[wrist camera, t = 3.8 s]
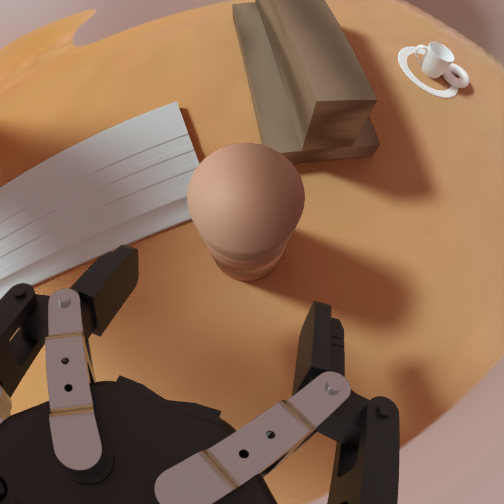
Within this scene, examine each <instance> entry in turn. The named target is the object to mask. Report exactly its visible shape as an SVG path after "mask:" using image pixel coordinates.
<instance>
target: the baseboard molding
mask: <svg viewBox="0 0 504 504" xmlns="http://www.w3.org/2000/svg"><path fill="white" fill-rule="evenodd" d="M198 165H199V161H198V159H197V156H196V153H195V150H194V148H193V145H192V142H191V139H190V137H189V134H188V131H187V128H186V126H185V123H184V120H183V117H182V114H181V112H180V109H179V106H178V103H177V101H176V102H173V103H170V104H168V105H165V106H162V107H160V108H157V109H154V110H152V111H149V112H147V113H144V114H142V115H139V116H137V117H134V118H132V119H129V120H127V121H125V122H122V123H120V124H118V125H115V126H113V127H111V128H109V129H106V130H104V131H102V132H100V133H98V134H96V135H93V136H91V137H89V138H87V139H85V140H83V141H81V142H79V143H77V144H75V145H73V146H71V147H69V148H67V149H65V150H63V151H62V152H60V153H58V154H56V155H54V156H52V157H50V158H49V159H47V160H45V161H43V162H41V163H40V164H38V165H36V166H34V167H33V168H31V169H29V170H28V171H26V172H24V173H23V174H21V175H19V176H18V177H16V178H14V179H13V180H11V181H10V182H8V183H6V184H5V185H3V186H2V187H0V299H1V298H2V297H3V296H4V295H5V294H6V293H7V291H8V290H9V289H10V288H11V287H13V286H14V285H16V284H19V283H27V284H30V285H31V286H34V285H36V284H38V283H40V282H43V281H45V280H47V279H49V278H51V277H54V276H56V275H58V274H60V273H63V272H65V271H67V270H69V269H72V268H74V267H76V266H79V265H81V264H83V263H85V262H88V261H90V260H92V259H95V258H97V257H99V256H102V255H104V254H106V253H108V252H111V251H114V250H116V249H117V248H118V247H119V246H120V245H128V244H131V243H133V242H136V241H138V240H141V239H143V238H145V237H148V236H150V235H153V234H156V233H158V232H161V231H163V230H166V229H168V228H171V227H173V226H176V225H178V224H181V223H184V222H186V221H189V220H192V218H191V216H190V213H189V210H188V204H187V192H188V186H189V182H190V180H191V177H192V175H193V173H194V171H195V170H196V168H197V167H198Z"/></svg>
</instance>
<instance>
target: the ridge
mask: <svg viewBox="0 0 504 504" xmlns="http://www.w3.org/2000/svg"><path fill="white" fill-rule="evenodd" d="M232 6H233V20H234V24H235V28H236V32H237V36H238V40H239V44H240V48H241V53H242V57H243V61H244V66H245V70H246V74H247V79H248V83H249V87H250V92H251V96H252V101H253V105H254V110H255V114H256V119H257V123H258V128H259V133H260V137H261V142H262V145H264V146H267V147H269V148H272V149H274V150H276V151H278V152H279V153H281V154H282V155H284V156H285V157H286V158H287V159H288V160H289V161H290V162H291V163H292V164H294V163H303V162H312V161H322V160H332V159H343V158H356V157H369V156H372V155H373V154H374V152H375V151H376V150H377V148H378V147H379V145H380V144H379V141H378V138H377V135H376V133H375V130H374V127H373V125H372V122H371V120H370V117H369V114H370V112H371V111H372V109H373V107H374V105H375V103H376V101H377V98H376V96H375V94H374V92H373V90H372V87H371V85H370V83H369V81H368V79H367V77H366V75H365V73H364V70H363V68H362V66H361V64H360V62H359V60H358V58H357V56H356V55H355V53H354V51H353V49H352V47H351V45H350V43H349V41H348V39H347V38H346V36H345V34H344V32H343V30H342V29H341V27H340V25H339V23H338V22H337V20H336V18H335V17H334V15H333V13H332V11H331V10H330V8H329V7H328V5H327V3H326V2H325V0H256V2H255V3H242V4H232Z"/></svg>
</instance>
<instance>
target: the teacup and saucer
mask: <svg viewBox="0 0 504 504" xmlns="http://www.w3.org/2000/svg"><path fill="white" fill-rule="evenodd" d="M422 48H424V49H422ZM412 53H415V56H416V59H417V62H418V63H419V65H420V66H421V70H422V71H423V73H424V74H425V75H427V76H428V77H430V78H433V79H435V78H438V77H440V76H441V75H442V76H443V78H444V79H445V80H446V81H447V82H448V83H449V84H450V85H451V86H450V88H449V89H447V90H445V91H440V90H435V89H433V88H430V87H428V86H426V85H425V84H423V83H422V82H421V81H419V80H418V79H417V78H416V77H415V76H414V75H413V74H412V72H411V71H410V70H409V68H408V66H407V61H406V60H407V57H408V55H410V54H412ZM417 53H420V54H424V56H423V59H422V62H420V61H419V59H418V56H417ZM398 60H399V64H400V66H401V68H402V70H403V71H404V73H405V74H406V75H407V76H408V77H409V78H410V80H412V81H413V82H414V83H415V84H416V85H417V86H419V87H420V88H421V89H423V90H425V91H426V92H428V93H430V94H432V95H435V96H438V97H442V98H451V97H454V96H455V95H456V94H457V92H458V89H459V88H465V87H467V86H468V85H469V76H468V74H467V73H466V72H465V70H464V69H462V68H461V67H460V66H458V65H456V64H453V61H454V55H453V54H452V52H451V51H450V50H449V49H448V48H447V47H446V46H444V45H442V44H441V43H438V42H430V44H429V45H428V47H427V46H425V45H418V46H417V47H405V48H403V49H402V50H401V51H400V52H399V54H398ZM455 74H456V75H458V76H459V78H457V77H456V76H455Z"/></svg>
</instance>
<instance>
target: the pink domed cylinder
mask: <svg viewBox="0 0 504 504" xmlns="http://www.w3.org/2000/svg"><path fill="white" fill-rule="evenodd" d="M304 201H305V192H304V186H303V183H302V180H301V177H300V175H299V173H298V171H297V170H296V168H295V167H294V165H293V164H292V163H291V162H290V161H289V160H288V159H287V158H286V157H285V156H284V155H282V154H281V153H279V152H278V151H276V150H274V149H272V148H269V147H267V146H264V145H260V144H254V143H238V144H233V145H229V146H226V147H223V148H221V149H218V150H216V151H215V152H213V153H211V154H210V155H209V156H207V157H206V158H205V159H204V160H203V161H202V162H201V163H200V164H199V165H198V167H197V168H196V170H195V171H194V173H193V175H192V177H191V180H190V182H189V186H188V192H187V204H188V210H189V213H190V216H191V218H192V220H193V222H194V224H195V226H196V228H197V230H198V231H199V233H200V235H201V237H202V239H203V240H204V242H205V244H206V246H207V248H208V249H209V251H210V253H211V255H212V256H213V258H214V260H215V262H216V264H217V265H218V267H219V268H220V269H221V270H222V271H223V272H224V273H225V274H226V275H228V276H229V277H231V278H234V279H236V280H240V281H254V280H258V279H260V278H263V277H265V276H266V275H268V274H269V273H270V272H271V271H272V270H273V269H274V268H275V267H276V265H277V264H278V262H279V260H280V258H281V256H282V254H283V252H284V250H285V248H286V246H287V244H288V242H289V240H290V238H291V236H292V234H293V232H294V230H295V228H296V226H297V224H298V221H299V219H300V217H301V215H302V211H303V208H304Z"/></svg>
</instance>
